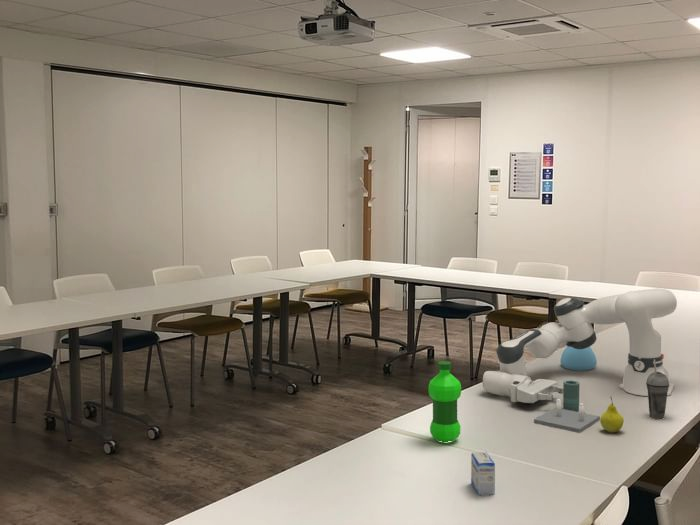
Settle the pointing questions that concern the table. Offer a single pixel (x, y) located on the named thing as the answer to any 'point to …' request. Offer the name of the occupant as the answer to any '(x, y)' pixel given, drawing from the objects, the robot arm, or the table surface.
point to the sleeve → (571, 395)
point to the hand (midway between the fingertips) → (558, 394)
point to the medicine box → (483, 473)
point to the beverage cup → (657, 393)
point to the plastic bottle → (445, 404)
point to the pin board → (567, 418)
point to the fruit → (612, 419)
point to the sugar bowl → (578, 359)
